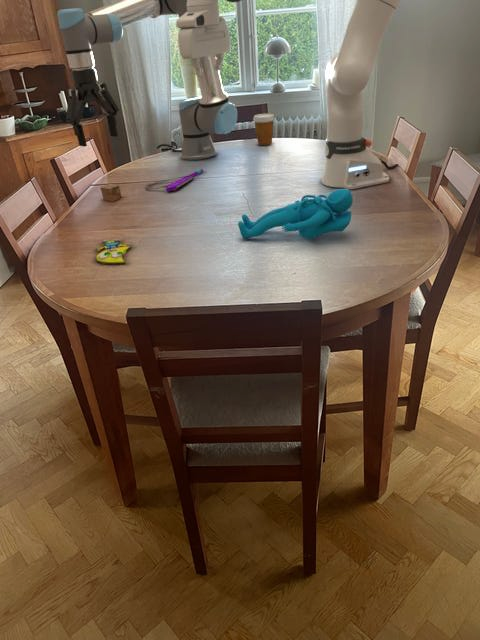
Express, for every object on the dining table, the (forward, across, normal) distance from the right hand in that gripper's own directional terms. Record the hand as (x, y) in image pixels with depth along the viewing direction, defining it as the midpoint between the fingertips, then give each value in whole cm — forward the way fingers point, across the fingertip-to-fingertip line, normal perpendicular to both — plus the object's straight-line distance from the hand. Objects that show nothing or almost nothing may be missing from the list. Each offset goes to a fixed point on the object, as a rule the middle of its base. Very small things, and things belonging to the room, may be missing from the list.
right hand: (209, 73), depth 142 cm
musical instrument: (+37, -6, -26) cm, 46 cm away
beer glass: (+37, -66, -23) cm, 79 cm away
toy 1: (+37, +50, 0) cm, 62 cm away
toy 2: (+37, +20, +39) cm, 58 cm away
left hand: (+18, +17, -35) cm, 43 cm away
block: (+37, +17, -35) cm, 54 cm away
